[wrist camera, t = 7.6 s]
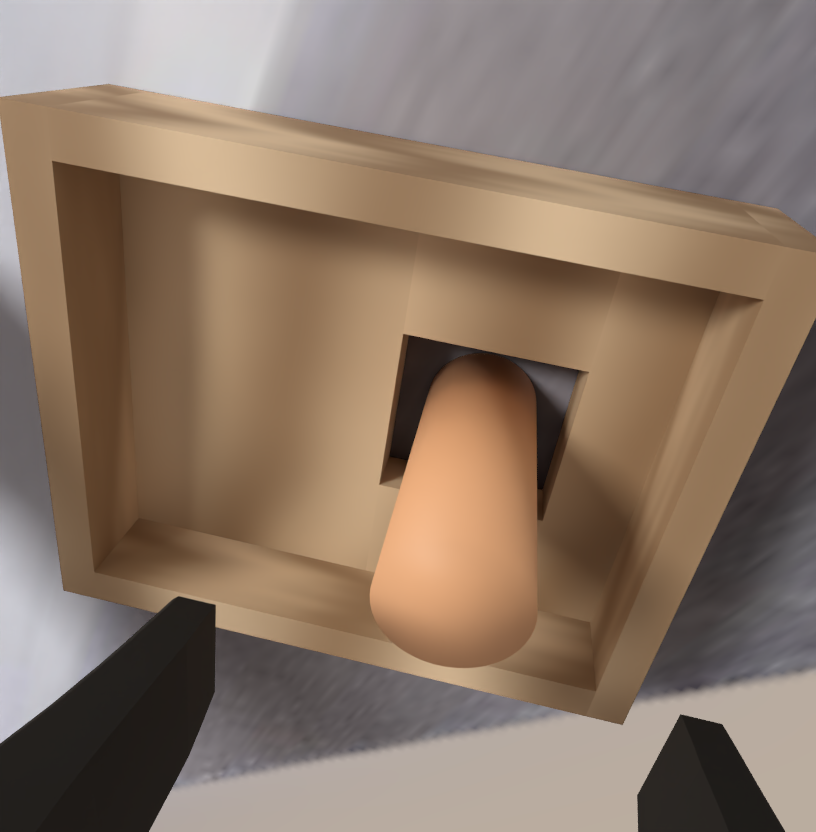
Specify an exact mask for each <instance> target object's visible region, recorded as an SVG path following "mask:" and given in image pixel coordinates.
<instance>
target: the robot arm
mask: <svg viewBox="0 0 816 832" xmlns="http://www.w3.org/2000/svg"><path fill="white" fill-rule="evenodd" d="M215 626H216V605H214V604H210V603H206V602H202V601H197V600H193V599H189V598H185V597H180V596H178V597H176V598H174V599H172V600H171V601H170V602H169V603H168V604H167V605H166V606H165V607H163V608H162V609H161V610H160V611H159V612H158V613H157V614H156V615H155V616H154V617H153V618H152V619H150V620H149V621H148V622H147V623H146V624H145V625H144V626H143V627H142V628H141V629H139V630H138V631H137V632H136V633H135V634H134V635H133V636H132V637H131V638H129V639H128V640H127V641H126V642H125V643H124V644H123V645H122V646H120V647H119V648H118V649H117V650H116V651H115V652H114V653H112V654H111V655H110V656H109V657H108V658H107V659H106V660H104V661H103V662H102V663H101V664H100V665H98V666H97V667H96V668H95V669H94V670H92V671H91V672H90V673H89V674H88V675H86V676H85V677H84V678H83V679H82V680H80V681H79V682H78V683H77V684H76V685H74V686H73V687H72V688H71V689H70V690H68V691H67V692H66V693H65V694H64V695H62V696H61V697H60V698H59V699H58V700H56V701H55V702H54V703H53V704H51V705H50V706H49V707H48V708H46V709H45V710H44V711H42V712H41V713H40V714H38V715H37V716H36V717H35V718H33V719H32V720H31V721H29V722H28V723H27V724H25V725H24V726H23V727H21V728H20V729H19V730H17V731H16V732H15V733H14V734H12V735H11V736H10V737H8V738H7V739H6V740H4V741H3V742H2V743H0V832H149V830H150V828H151V826H152V825H153V823H154V821H155V819H156V817H157V815H158V813H159V811H160V810H161V808H162V806H163V804H164V802H165V800H166V798H167V796H168V794H169V793H170V791H171V789H172V787H173V785H174V783H175V781H176V779H177V777H178V776H179V774H180V772H181V770H182V768H183V766H184V764H185V762H186V760H187V758H188V756H189V754H190V752H191V749H192V747H193V744H194V742H195V739H196V737H197V735H198V732H199V730H200V727H201V725H202V722H203V720H204V717H205V715H206V712H207V710H208V707H209V705H210V702H211V700H212V697H213V695H214V692H215ZM637 799H638V832H785V830H784V829H783V827H782V825H781V824H780V822H779V820H778V819H777V817H776V815H775V814H774V812H773V810H772V809H771V807H770V805H769V803H768V802H767V800H766V798H765V797H764V795H763V793H762V792H761V790H760V788H759V786H758V785H757V783H756V781H755V780H754V778H753V776H752V774H751V773H750V771H749V769H748V767H747V766H746V764H745V762H744V760H743V759H742V757H741V755H740V754H739V752H738V750H737V748H736V747H735V745H734V743H733V742H732V740H731V738H730V737H729V735H728V733H727V731H726V730H725V728H724V727H723V725H722V724H718V723H714V722H710V721H706V720H702V719H698V718H693V717H689V716H685V715H680V716H679V718H678V720H677V722H676V724H675V726H674V728H673V730H672V731H671V733H670V735H669V737H668V739H667V741H666V743H665V745H664V746H663V749H662V750H661V752H660V754H659V756H658V758H657V760H656V761H655V763H654V765H653V767H652V769H651V771H650V773H649V775H648V777H647V779H646V780H645V782H644V784H643V786H642V788H641V790H640V792H639V794H638V795H637Z"/></svg>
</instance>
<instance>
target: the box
mask: <svg viewBox="0 0 816 832" xmlns="http://www.w3.org/2000/svg"><path fill="white" fill-rule="evenodd" d="M0 119H1V127H2V134H3V142H4V149H5V157H6V164H7V171H8V179H9V186H10V194H11V201H12V209H13V216H14V224H15V231H16V239H17V246H18V254H19V261H20V269H21V276H22V284H23V291H24V299H25V306H26V313H27V321H28V328H29V336H30V343H31V351H32V358H33V366H34V373H35V381H36V388H37V396H38V403H39V411H40V418H41V426H42V433H43V440H44V448H45V455H46V463H47V470H48V478H49V485H50V493H51V500H52V508H53V515H54V523H55V530H56V538H57V545H58V553H59V560H60V568H61V575H62V582H63V590H64V591H68V592H72V593H76V594H81V595H85V596H89V597H93V598H97V599H101V600H106V601H110V602H114V603H118V604H122V605H126V606H130V607H135V608H139V609H143V610H147V611H151V612H155V613H158V612H159V611H160V610H161V609H162V608H163V607H165V606H166V605H167V604H168V603H169V602H170V601H171V600H172V599H174V598H176V597H178V596H180V597H185V598H189V599H193V600H197V601H202V602H206V603H210V604H214V605H216V626H215V627H218V628H222V629H226V630H230V631H234V632H238V633H243V634H247V635H251V636H255V637H259V638H263V639H268V640H272V641H276V642H280V643H284V644H288V645H292V646H297V647H301V648H305V649H309V650H313V651H317V652H322V653H326V654H330V655H334V656H338V657H342V658H347V659H351V660H355V661H359V662H363V663H367V664H371V665H376V666H380V667H384V668H388V669H392V670H396V671H401V672H405V673H409V674H413V675H417V676H421V677H425V678H430V679H434V680H438V681H442V682H446V683H450V684H455V685H459V686H463V687H467V688H471V689H475V690H479V691H484V692H488V693H492V694H496V695H500V696H504V697H509V698H513V699H517V700H521V701H525V702H529V703H533V704H538V705H542V706H546V707H550V708H554V709H558V710H563V711H567V712H571V713H575V714H579V715H583V716H587V717H592V718H596V719H600V720H604V721H608V722H612V723H617V724H621V725H623V723H624V721H625V719H626V717H627V714H628V712H629V710H630V708H631V706H632V704H633V702H634V700H635V698H636V696H637V693H638V691H639V689H640V687H641V685H642V683H643V681H644V679H645V677H646V674H647V672H648V670H649V668H650V666H651V664H652V662H653V660H654V658H655V656H656V653H657V651H658V649H659V647H660V645H661V643H662V641H663V639H664V637H665V634H666V632H667V630H668V628H669V626H670V624H671V622H672V620H673V618H674V615H675V613H676V611H677V609H678V607H679V605H680V603H681V601H682V599H683V597H684V594H685V592H686V590H687V588H688V586H689V584H690V582H691V580H692V578H693V575H694V573H695V571H696V569H697V567H698V565H699V563H700V561H701V559H702V556H703V554H704V552H705V550H706V548H707V546H708V544H709V542H710V540H711V537H712V535H713V533H714V531H715V529H716V527H717V525H718V523H719V521H720V519H721V516H722V514H723V512H724V510H725V508H726V506H727V504H728V502H729V500H730V497H731V495H732V493H733V491H734V489H735V487H736V485H737V483H738V481H739V478H740V476H741V474H742V472H743V470H744V468H745V466H746V464H747V462H748V460H749V457H750V455H751V453H752V451H753V449H754V447H755V445H756V443H757V441H758V438H759V436H760V434H761V432H762V430H763V428H764V426H765V424H766V422H767V419H768V417H769V415H770V413H771V411H772V409H773V407H774V405H775V403H776V401H777V398H778V396H779V394H780V392H781V390H782V388H783V386H784V384H785V382H786V379H787V377H788V375H789V373H790V371H791V369H792V367H793V365H794V363H795V360H796V358H797V356H798V354H799V352H800V350H801V348H802V346H803V344H804V341H805V339H806V337H807V335H808V333H809V331H810V329H811V327H812V325H813V323H814V320H815V318H816V237H815V236H814V235H812V234H811V233H810V232H808V231H807V230H805V229H804V228H803V227H801V226H800V225H799V224H797V223H796V222H795V221H793V220H792V219H791V218H789V217H788V216H787V215H785V214H784V213H782V212H781V211H780V210H778V209H776V208H771V207H765V206H760V205H755V204H749V203H744V202H739V201H733V200H728V199H722V198H717V197H712V196H706V195H701V194H696V193H690V192H685V191H680V190H674V189H669V188H663V187H658V186H653V185H647V184H642V183H637V182H631V181H626V180H620V179H615V178H610V177H604V176H599V175H594V174H588V173H583V172H578V171H572V170H567V169H561V168H556V167H551V166H545V165H540V164H535V163H529V162H524V161H519V160H513V159H508V158H502V157H497V156H492V155H486V154H481V153H476V152H470V151H465V150H459V149H454V148H449V147H443V146H438V145H433V144H427V143H422V142H417V141H411V140H406V139H400V138H395V137H390V136H384V135H379V134H374V133H368V132H363V131H358V130H352V129H347V128H341V127H336V126H331V125H325V124H320V123H315V122H309V121H304V120H298V119H293V118H288V117H282V116H277V115H272V114H266V113H261V112H256V111H250V110H245V109H239V108H234V107H229V106H223V105H218V104H213V103H207V102H202V101H196V100H191V99H186V98H180V97H175V96H170V95H164V94H159V93H154V92H148V91H143V90H137V89H132V88H127V87H121V86H116V85H111V84H106V85H97V86H89V87H80V88H72V89H63V90H55V91H46V92H38V93H29V94H21V95H13V96H4V97H0ZM409 335H412V336H417V337H422V338H426V339H431V340H436V341H441V342H446V343H451V344H455V345H460V346H465V347H470V348H475V349H480V350H485V351H489V352H494V353H499V354H504V355H509V356H514V357H519V358H523V359H528V360H533V361H538V362H543V363H548V364H552V365H557V366H562V367H567V368H572V369H577V370H579V372H578V375H577V379H576V382H575V385H574V388H573V392H572V395H571V398H570V402H569V405H568V408H567V411H566V415H565V418H564V421H563V425H562V428H561V431H560V434H559V438H558V441H557V444H556V448H555V451H554V454H553V457H552V461H551V464H550V467H549V471H548V474H547V477H546V481H545V484H544V487H543V490H540V489H537V578H538V615H537V622H536V626H535V629H534V631H533V633H532V635H531V637H530V638H529V640H528V641H527V642H526V644H525V645H524V646H523V647H522V648H521V649H520V650H518V651H517V652H516V653H514V654H513V655H512V656H510V657H508V658H506V659H504V660H502V661H500V662H497V663H494V664H491V665H487V666H482V667H476V668H452V667H444V666H440V665H435V664H432V663H428V662H425V661H423V660H420V659H418V658H416V657H414V656H412V655H410V654H408V653H406V652H405V651H403V650H402V649H400V648H399V647H397V646H396V645H395V644H394V643H393V642H392V641H390V640H389V639H388V637H387V636H386V635H385V634H384V633H383V632H382V630H381V629H380V628H379V626H378V624H377V622H376V621H375V619H374V616H373V613H372V611H371V606H370V588H371V584H372V580H373V577H374V574H375V570H376V567H377V564H378V560H379V557H380V553H381V550H382V547H383V543H384V540H385V537H386V533H387V530H388V527H389V523H390V520H391V517H392V513H393V510H394V506H395V503H396V500H397V496H398V493H399V490H400V486H401V483H402V480H403V476H404V473H405V470H406V466H407V463H408V460H403V459H399V458H394V457H390V449H391V443H392V437H393V431H394V425H395V419H396V413H397V406H398V400H399V394H400V388H401V382H402V376H403V370H404V364H405V357H406V351H407V345H408V339H409Z"/></svg>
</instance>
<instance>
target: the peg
mask: <svg viewBox="0 0 816 832" xmlns="http://www.w3.org/2000/svg"><path fill="white" fill-rule="evenodd" d="M370 606H371V611H372V613H373V616H374V619H375V621H376V622H377V624H378V626H379V628H380V629H381V630H382V632H383V633H384V634H385V635H386V636H387V637H388V639H389V640H390V641H392V642H393V643H394V644H395V645H396V646H397V647H399V648H400V649H402V650H403V651H405V652H406V653H408V654H410V655H412V656H414V657H416V658H418V659H420V660H423V661H425V662H428V663H432V664H435V665H440V666H444V667H452V668H476V667H482V666H487V665H491V664H494V663H497V662H500V661H502V660H504V659H506V658H508V657H510V656H512V655H513V654H514V653H516V652H517V651H518V650H520V649H521V648H522V647H523V646H524V645H525V644H526V642H527V641H528V640H529V638H530V637H531V635H532V633H533V631H534V629H535V626H536V622H537V615H538V578H537V403H536V394H535V390H534V387H533V384H532V383H531V381H530V379H529V377H528V376H527V375H526V373H525V372H524V371H523V370H522V369H521V368H520V367H518V366H517V365H516V364H515V363H513V362H511V361H510V360H508V359H505V358H503V357H500V356H497V355H493V354H487V353H475V354H468V355H464V356H461V357H458V358H456V359H454V360H452V361H451V362H449V363H447V364H446V365H445V366H444V367H443V368H441V370H440V371H439V372H438V373H437V374H436V376H435V377H434V379H433V381H432V383H431V386H430V389H429V392H428V396H427V399H426V402H425V406H424V409H423V412H422V416H421V419H420V422H419V426H418V429H417V433H416V436H415V439H414V443H413V446H412V449H411V453H410V456H409V459H408V463H407V466H406V470H405V473H404V476H403V480H402V483H401V486H400V490H399V493H398V496H397V500H396V503H395V506H394V510H393V513H392V517H391V520H390V523H389V527H388V530H387V533H386V537H385V540H384V543H383V547H382V550H381V553H380V557H379V560H378V564H377V567H376V570H375V574H374V577H373V580H372V584H371V588H370Z"/></svg>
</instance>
